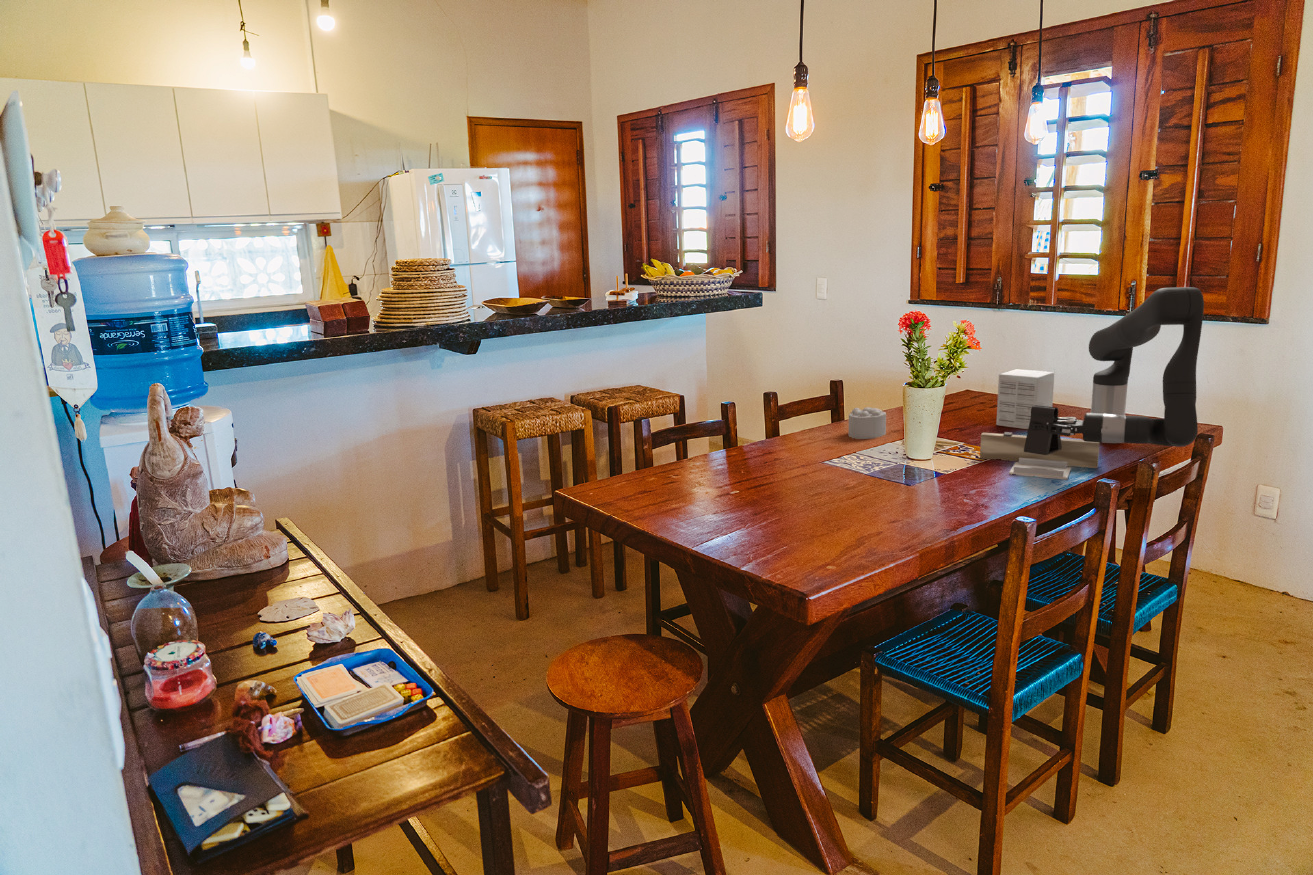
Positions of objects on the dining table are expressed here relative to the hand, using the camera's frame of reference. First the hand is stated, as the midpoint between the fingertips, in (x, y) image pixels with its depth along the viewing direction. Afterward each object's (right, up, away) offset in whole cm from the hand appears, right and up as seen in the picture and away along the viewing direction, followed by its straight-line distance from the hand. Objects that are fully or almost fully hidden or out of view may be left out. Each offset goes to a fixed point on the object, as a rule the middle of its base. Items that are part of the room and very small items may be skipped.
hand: (1031, 424), depth 220 cm
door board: (+6, -10, +11) cm, 16 cm away
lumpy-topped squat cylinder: (-31, -3, +52) cm, 61 cm away
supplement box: (+23, +1, +56) cm, 60 cm away
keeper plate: (+3, -13, +2) cm, 13 cm away
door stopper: (+3, -7, 0) cm, 8 cm away
